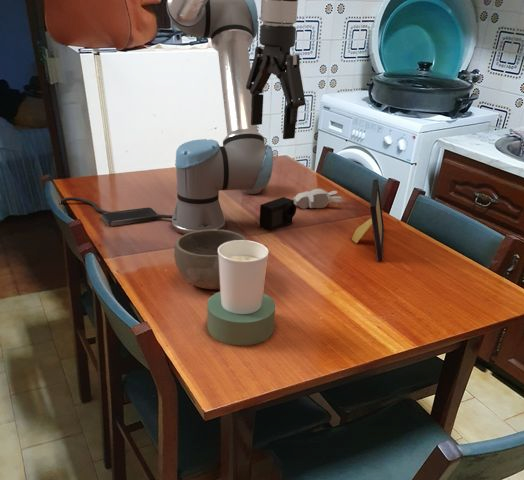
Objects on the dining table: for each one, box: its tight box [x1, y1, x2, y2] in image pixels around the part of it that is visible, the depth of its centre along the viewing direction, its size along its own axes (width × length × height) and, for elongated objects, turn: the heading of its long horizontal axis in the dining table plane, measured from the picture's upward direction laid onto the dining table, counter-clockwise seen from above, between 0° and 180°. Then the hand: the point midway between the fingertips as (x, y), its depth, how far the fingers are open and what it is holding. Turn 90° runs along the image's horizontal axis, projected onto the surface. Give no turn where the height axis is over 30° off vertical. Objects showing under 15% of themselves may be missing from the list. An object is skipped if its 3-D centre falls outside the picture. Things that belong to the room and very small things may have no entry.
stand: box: [206, 291, 276, 347], centre depth 113 cm, size 14×14×6 cm
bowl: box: [173, 229, 248, 290], centre depth 129 cm, size 17×18×10 cm
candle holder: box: [218, 239, 270, 314], centre depth 108 cm, size 10×10×12 cm
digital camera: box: [258, 196, 297, 232], centre depth 160 cm, size 10×5×7 cm, turn 138°
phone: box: [101, 207, 159, 227], centre depth 160 cm, size 8×1×15 cm
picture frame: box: [351, 178, 385, 262], centre depth 151 cm, size 23×9×15 cm, turn 168°
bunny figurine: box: [292, 188, 344, 210], centre depth 176 cm, size 10×5×15 cm
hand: (271, 131), depth 126 cm, fingers open, 13 cm apart
